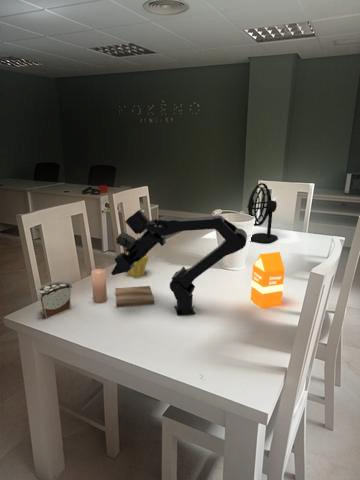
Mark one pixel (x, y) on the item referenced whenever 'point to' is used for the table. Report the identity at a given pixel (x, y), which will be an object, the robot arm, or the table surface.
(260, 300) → the orange juice
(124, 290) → the walnut board
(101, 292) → the pillar candle
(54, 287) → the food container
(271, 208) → the desk fan
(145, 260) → the plant pot
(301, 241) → the table surface
